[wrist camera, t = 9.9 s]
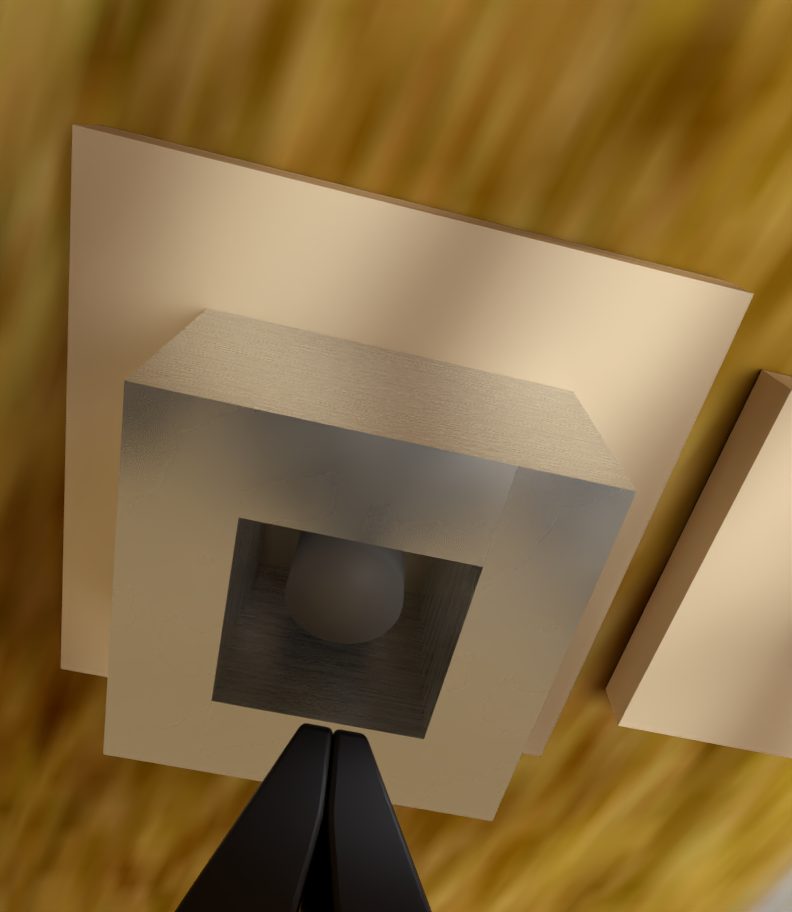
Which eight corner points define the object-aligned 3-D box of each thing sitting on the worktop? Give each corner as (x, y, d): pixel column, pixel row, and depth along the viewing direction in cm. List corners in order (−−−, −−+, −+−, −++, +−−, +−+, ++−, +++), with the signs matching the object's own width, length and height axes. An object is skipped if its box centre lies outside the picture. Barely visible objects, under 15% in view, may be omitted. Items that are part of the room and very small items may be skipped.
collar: (473, 664, 16) (492, 820, 12) (175, 607, 15) (103, 754, 12) (573, 391, 13) (636, 491, 9) (208, 308, 12) (124, 380, 9)
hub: (725, 280, 13) (853, 340, 9) (532, 719, 18) (564, 873, 14) (102, 124, 12) (-37, 122, 8) (82, 635, 17) (-10, 776, 13)
